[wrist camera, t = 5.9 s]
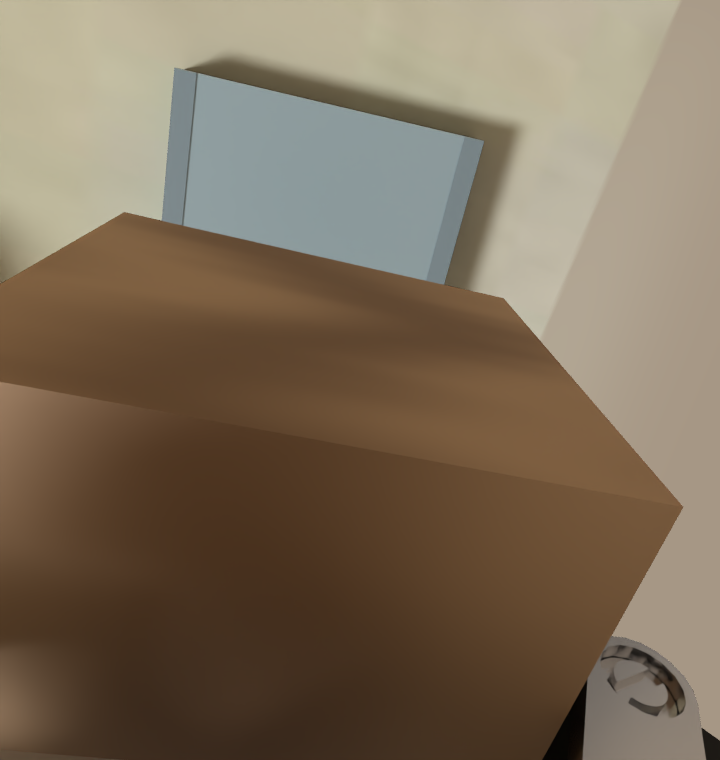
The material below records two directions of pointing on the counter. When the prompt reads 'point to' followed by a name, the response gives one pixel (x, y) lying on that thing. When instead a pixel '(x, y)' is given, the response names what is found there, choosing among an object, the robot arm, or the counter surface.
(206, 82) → the plate
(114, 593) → the wooden block
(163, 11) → the counter surface
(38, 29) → the counter surface
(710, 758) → the robot arm
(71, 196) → the counter surface
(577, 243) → the counter surface
